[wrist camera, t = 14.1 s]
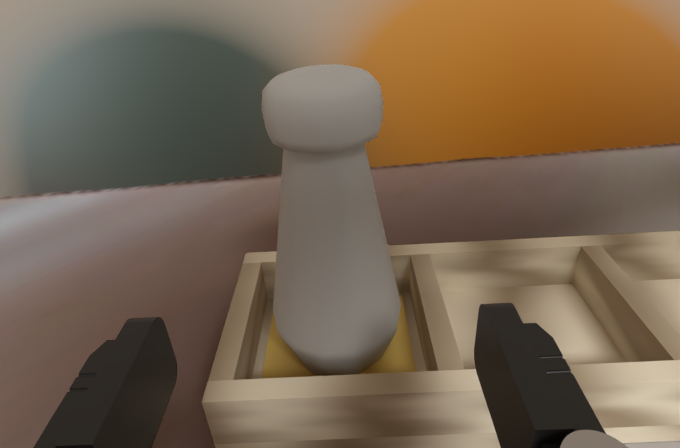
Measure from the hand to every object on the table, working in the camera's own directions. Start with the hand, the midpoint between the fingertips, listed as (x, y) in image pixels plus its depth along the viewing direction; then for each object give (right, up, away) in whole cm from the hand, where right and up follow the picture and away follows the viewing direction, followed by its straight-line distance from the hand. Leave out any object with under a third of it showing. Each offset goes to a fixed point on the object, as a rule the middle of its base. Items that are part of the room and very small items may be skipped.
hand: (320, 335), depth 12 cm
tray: (+10, -4, +11) cm, 15 cm away
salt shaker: (+1, -3, +11) cm, 11 cm away
